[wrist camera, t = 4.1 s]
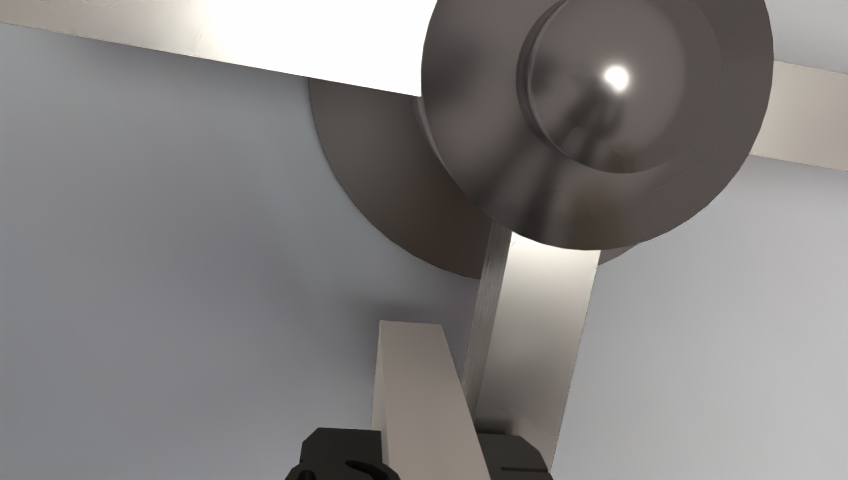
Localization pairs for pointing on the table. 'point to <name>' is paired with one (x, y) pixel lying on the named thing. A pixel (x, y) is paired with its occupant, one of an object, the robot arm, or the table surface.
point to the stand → (401, 177)
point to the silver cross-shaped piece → (529, 133)
